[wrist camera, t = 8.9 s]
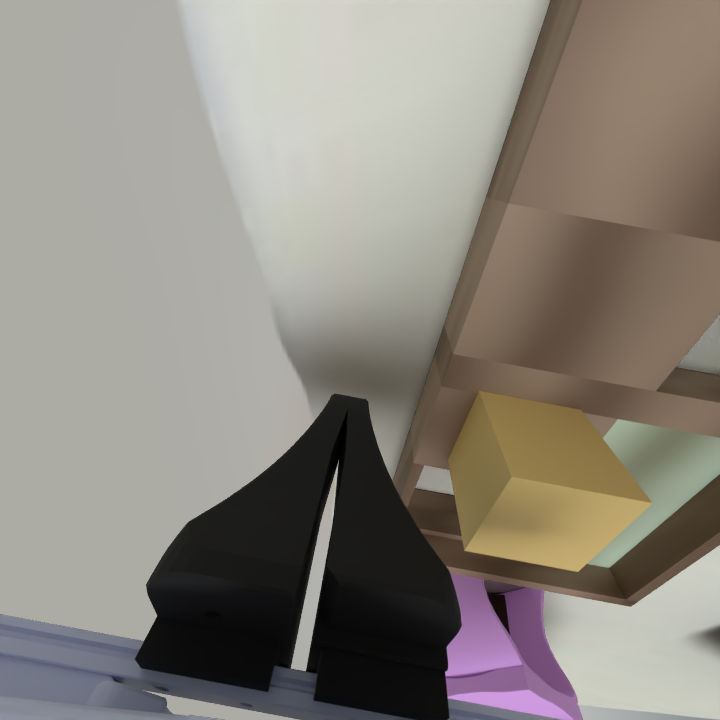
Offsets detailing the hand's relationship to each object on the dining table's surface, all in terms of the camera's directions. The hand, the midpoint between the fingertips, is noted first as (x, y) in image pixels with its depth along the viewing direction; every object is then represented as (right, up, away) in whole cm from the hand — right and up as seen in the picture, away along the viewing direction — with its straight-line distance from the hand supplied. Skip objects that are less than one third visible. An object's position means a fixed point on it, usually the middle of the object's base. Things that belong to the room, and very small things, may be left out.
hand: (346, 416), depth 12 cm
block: (+7, -1, +1) cm, 7 cm away
